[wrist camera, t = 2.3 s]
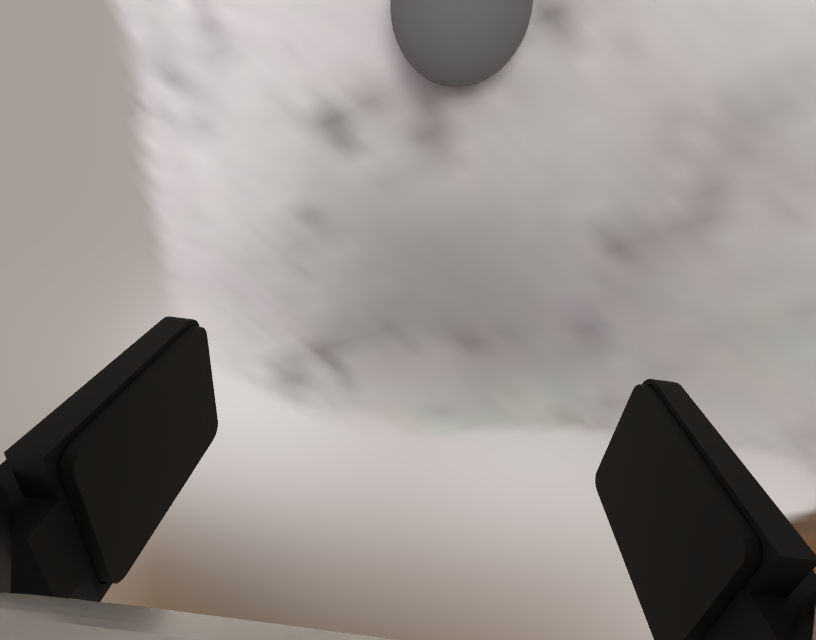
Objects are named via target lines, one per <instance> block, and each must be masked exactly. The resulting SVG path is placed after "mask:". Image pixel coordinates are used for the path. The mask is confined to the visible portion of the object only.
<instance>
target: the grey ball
mask: <svg viewBox="0 0 816 640" xmlns="http://www.w3.org/2000/svg"><path fill="white" fill-rule="evenodd" d="M532 4H533V0H391V20H392V25H393V30H394V33H395V36H396V39H397V42H398V44H399V47H400V49H401V51H402V53H403V54H404V56H405V57H406V59H407V60H408V62H409V63H410V64H411V65H412V67H414V68H415V69H416V70H417V71H418V72H419V73H420V74H422V75H423V76H424V77H426V78H427V79H429V80H431V81H433V82H436V83H439V84H441V85H446V86H457V87H460V86H468V85H472V84H476V83H478V82H481V81H483V80H485V79H487V78H489V77H490V76H492V75H493V74H495V73H496V72H497V71H499V70H500V69H501V68H502V67H503V66H504V65H505V64H506V63H507V62H508V61H509V60H510V58H511V57H512V56H513V55H514V53H515V52H516V50H517V49H518V47H519V45H520V43H521V41H522V39H523V37H524V35H525V33H526V30H527V27H528V24H529V20H530V16H531V11H532Z"/></svg>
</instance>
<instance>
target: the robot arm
mask: <svg viewBox="0 0 816 640" xmlns="http://www.w3.org/2000/svg"><path fill="white" fill-rule="evenodd" d="M217 426H218V420H217V412H216V404H215V396H214V388H213V381H212V372H211V364H210V356H209V348H208V340H207V333H206V330H205V329H204V328H203V327H199V324H198V322H197V321H196V320H193V319H185V318H177V317H165V318H163V319H162V320H161V321H160V322H159V323H157V324H156V325H155V326H154V327H153V328H151V329H150V330H149V331H148V332H147V333H146V334H144V335H143V336H142V337H141V338H140V339H138V340H137V341H136V342H135V343H134V344H132V345H131V346H130V347H129V348H128V349H126V350H125V351H124V352H123V353H122V354H121V355H119V356H118V357H117V358H116V359H115V360H113V361H112V362H111V363H110V364H109V365H107V366H106V367H105V368H104V369H103V370H101V371H100V372H99V373H98V374H97V375H96V376H94V377H93V378H92V379H91V380H90V381H88V383H86V384H85V385H84V386H82V387H81V388H80V389H79V390H78V391H77V392H75V393H74V394H73V395H72V396H71V397H69V398H68V399H67V400H66V401H65V402H63V403H62V404H61V405H60V406H59V407H58V408H56V409H55V410H54V411H53V412H52V413H50V414H49V415H48V416H47V417H46V418H45V419H43V420H42V421H41V422H40V423H39V424H37V425H36V426H35V427H34V428H33V429H31V430H30V431H29V432H28V433H27V434H26V435H24V436H23V437H22V438H21V439H20V440H18V441H17V442H16V443H15V444H14V445H12V446H11V447H10V448H9V449H8V450H6V451H5V452H4V454H5V456H6V460H5V461H4V462H3V463H2V464H1V465H0V640H392V639H384V638H377V637H369V636H362V635H355V634H347V633H339V632H332V631H325V630H317V629H310V628H302V627H294V626H287V625H279V624H271V623H263V622H256V621H248V620H240V619H232V618H225V617H217V616H209V615H202V614H194V613H186V612H178V611H171V610H163V609H155V608H147V607H139V606H131V605H122V604H113V603H103V602H100V601H101V599H102V598H103V597H104V595H105V593H106V592H107V591H108V589H109V588H110V586H111V584H112V583H119V582H120V581H121V580H122V579H123V578H124V577H125V576H126V574H127V573H128V571H129V570H130V568H131V566H132V565H133V564H134V562H135V560H136V559H137V557H138V556H139V554H140V553H141V551H142V550H143V548H144V547H145V545H146V543H147V542H148V540H149V539H150V537H151V536H152V534H153V533H154V531H155V529H156V528H157V526H158V525H159V523H160V521H161V520H162V519H163V517H164V515H165V514H166V512H167V511H168V509H169V507H170V506H171V505H172V503H173V501H174V500H175V498H176V497H177V495H178V494H179V492H180V491H181V489H182V487H183V486H184V484H185V483H186V481H187V480H188V478H189V476H190V475H191V473H192V472H193V470H194V469H195V467H196V466H197V464H198V463H199V461H200V459H201V458H202V456H203V455H204V453H205V452H206V450H207V449H208V447H209V445H210V444H211V442H212V441H213V439H214V437H215V435H216V432H217ZM595 483H596V488H597V492H598V494H599V497H600V499H601V502H602V505H603V507H604V510H605V513H606V515H607V517H608V520H609V523H610V526H611V528H612V531H613V533H614V536H615V539H616V541H617V543H618V546H619V549H620V552H621V554H622V557H623V559H624V562H625V565H626V567H627V570H628V573H629V575H630V578H631V580H632V583H633V585H634V588H635V591H636V594H637V596H638V599H639V601H640V604H641V607H642V609H643V612H644V614H645V617H646V620H647V622H648V625H649V628H650V630H651V633H652V635H653V638H654V640H816V574H815V572H814V571H813V569H814V567H815V566H816V555H815V554H814V552H813V551H812V550H811V549H810V547H809V546H808V545H807V544H806V542H805V541H804V540H803V539H802V537H801V536H800V535H799V534H798V532H797V531H796V530H795V529H794V527H793V526H792V525H791V523H790V522H789V521H788V520H787V518H786V517H785V516H784V515H783V513H782V512H781V511H780V510H779V508H778V507H777V506H776V505H775V503H774V502H773V501H772V500H771V498H770V497H769V496H768V495H767V493H766V492H765V491H764V490H763V488H762V487H761V486H760V485H759V483H758V482H757V481H756V479H755V478H754V477H753V476H752V474H751V473H750V472H749V471H748V469H747V468H746V467H745V466H744V464H743V463H742V462H741V461H740V459H739V458H738V457H737V456H736V454H735V453H734V452H733V450H732V449H731V448H730V447H729V445H728V444H727V443H726V442H725V440H724V439H723V438H722V437H721V435H720V434H719V433H718V432H717V430H716V429H715V428H714V427H713V425H712V424H711V423H710V422H709V420H708V419H707V418H706V417H705V415H704V414H703V413H702V411H701V410H700V409H699V408H698V406H697V405H696V404H695V403H694V401H693V400H692V399H691V398H690V396H689V395H688V394H687V393H686V391H685V390H684V389H683V388H682V386H681V385H679V384H678V383H675V382H669V381H661V380H654V379H648V380H646V381H644V382H643V384H642V385H640V384H639V385H637V386H635V388H634V389H633V391H632V393H631V396H630V398H629V400H628V402H627V405H626V407H625V409H624V411H623V414H622V416H621V418H620V421H619V423H618V425H617V427H616V430H615V432H614V434H613V436H612V439H611V441H610V443H609V446H608V448H607V450H606V452H605V455H604V457H603V459H602V461H601V463H600V466H599V468H598V470H597V473H596V480H595ZM69 598H71V599H69ZM76 599H78V600H76ZM85 600H86V601H85Z"/></svg>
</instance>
